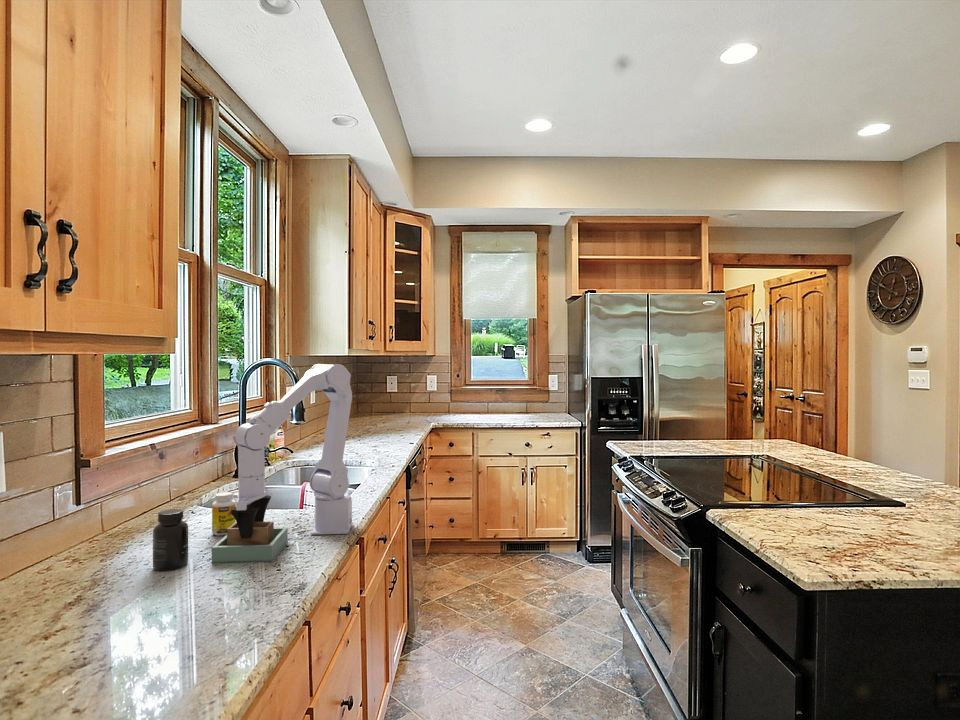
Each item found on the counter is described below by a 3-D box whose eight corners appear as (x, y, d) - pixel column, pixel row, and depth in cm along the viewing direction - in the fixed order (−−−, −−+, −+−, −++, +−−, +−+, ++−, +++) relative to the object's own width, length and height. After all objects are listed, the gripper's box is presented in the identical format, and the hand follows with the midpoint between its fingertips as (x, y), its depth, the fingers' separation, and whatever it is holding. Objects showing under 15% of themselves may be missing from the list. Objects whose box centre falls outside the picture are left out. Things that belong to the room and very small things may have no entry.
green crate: (287, 543, 134) (287, 527, 134) (271, 563, 121) (271, 545, 121) (233, 545, 133) (233, 528, 133) (211, 565, 120) (211, 547, 120)
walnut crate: (273, 546, 130) (273, 521, 130) (267, 553, 125) (267, 527, 125) (235, 547, 129) (235, 522, 129) (227, 554, 124) (227, 528, 124)
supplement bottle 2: (216, 538, 137) (216, 497, 137) (209, 532, 141) (208, 493, 141) (238, 533, 141) (238, 493, 141) (231, 528, 145) (231, 490, 145)
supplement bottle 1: (193, 565, 119) (193, 511, 119) (158, 574, 114) (158, 518, 114) (182, 557, 124) (182, 505, 124) (148, 566, 119) (148, 511, 119)
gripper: (244, 468, 134) (245, 523, 134) (221, 482, 119) (222, 543, 120) (274, 468, 135) (274, 522, 135) (254, 481, 120) (255, 542, 120)
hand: (252, 532), depth 127 cm, fingers open, 7 cm apart
